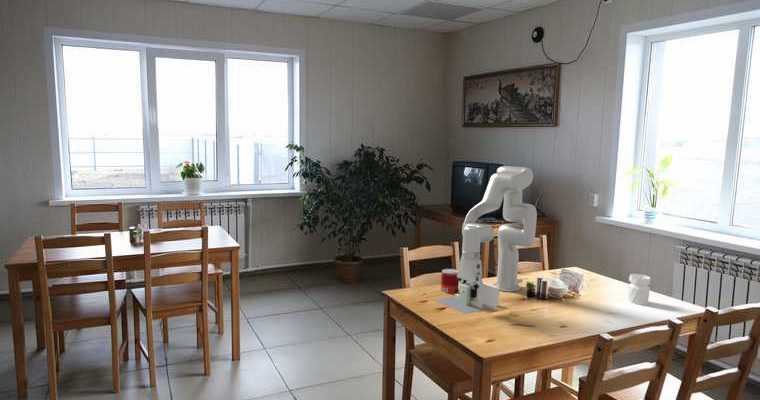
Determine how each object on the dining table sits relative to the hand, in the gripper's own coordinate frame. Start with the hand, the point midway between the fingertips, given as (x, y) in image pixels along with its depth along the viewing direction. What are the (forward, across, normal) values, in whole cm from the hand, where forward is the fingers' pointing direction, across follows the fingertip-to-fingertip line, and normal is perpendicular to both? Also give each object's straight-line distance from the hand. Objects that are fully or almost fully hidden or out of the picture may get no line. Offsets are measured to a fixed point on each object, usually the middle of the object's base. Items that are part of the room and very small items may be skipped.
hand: (468, 295), depth 227 cm
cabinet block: (+3, 0, 0) cm, 3 cm away
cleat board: (+5, 0, +2) cm, 5 cm away
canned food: (+5, +17, -4) cm, 18 cm away
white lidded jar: (+5, -35, -74) cm, 82 cm away
